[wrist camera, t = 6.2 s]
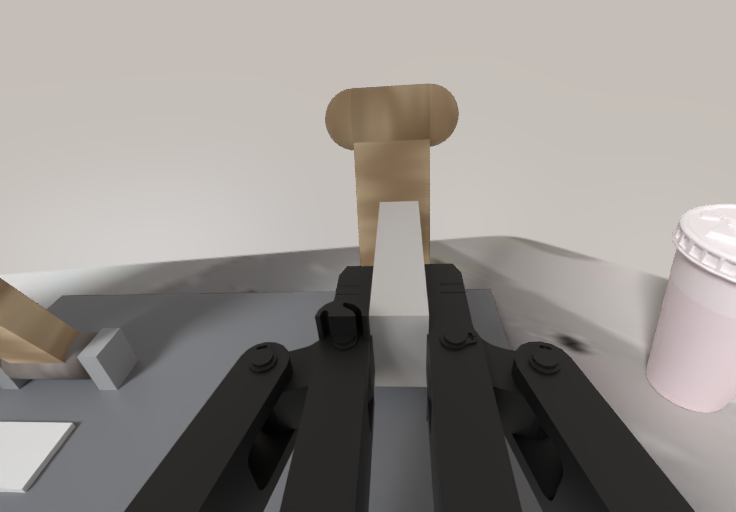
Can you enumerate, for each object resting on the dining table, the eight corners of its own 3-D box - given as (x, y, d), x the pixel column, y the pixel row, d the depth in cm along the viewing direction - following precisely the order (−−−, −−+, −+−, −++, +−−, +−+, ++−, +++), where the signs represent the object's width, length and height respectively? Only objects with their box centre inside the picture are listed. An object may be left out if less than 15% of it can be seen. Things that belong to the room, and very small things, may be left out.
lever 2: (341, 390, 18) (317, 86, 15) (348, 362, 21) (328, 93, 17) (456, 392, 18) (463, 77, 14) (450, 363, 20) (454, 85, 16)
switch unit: (-125, 540, 18) (-235, 477, 15) (82, 326, 29) (44, 267, 26) (555, 572, 15) (590, 503, 12) (485, 323, 27) (494, 256, 24)
